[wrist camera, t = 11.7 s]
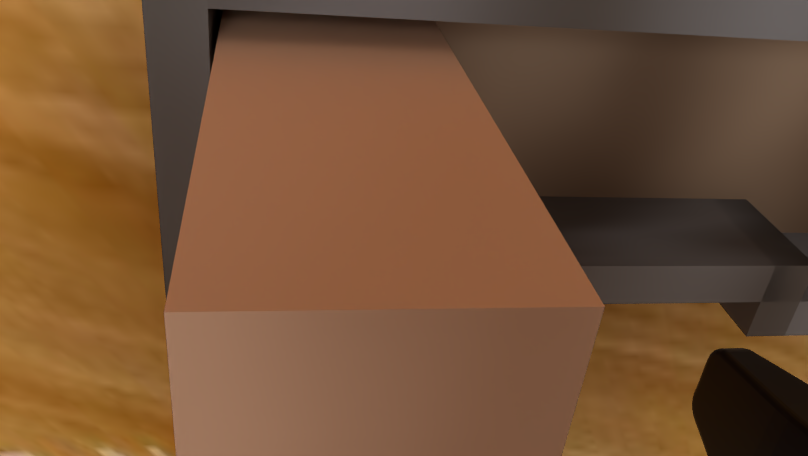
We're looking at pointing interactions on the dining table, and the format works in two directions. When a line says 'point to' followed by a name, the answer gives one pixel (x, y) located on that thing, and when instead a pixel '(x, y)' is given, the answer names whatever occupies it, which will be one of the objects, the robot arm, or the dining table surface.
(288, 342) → the peg
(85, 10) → the dining table surface
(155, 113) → the keyhole board
